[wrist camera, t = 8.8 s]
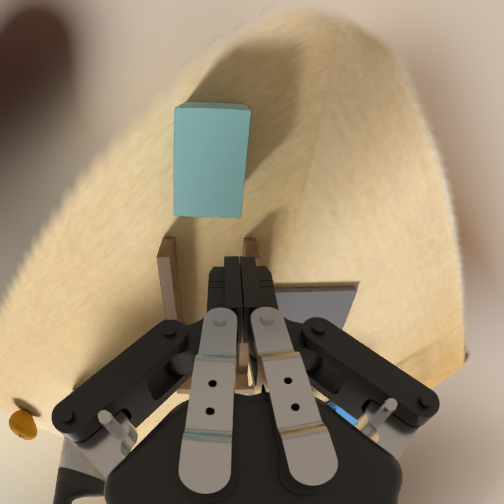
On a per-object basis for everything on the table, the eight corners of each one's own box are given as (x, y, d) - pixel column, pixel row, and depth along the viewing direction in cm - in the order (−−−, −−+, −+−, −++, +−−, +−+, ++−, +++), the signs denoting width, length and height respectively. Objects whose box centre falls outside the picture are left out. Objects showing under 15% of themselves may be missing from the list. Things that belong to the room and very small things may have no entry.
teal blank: (183, 187, 26) (174, 216, 21) (186, 101, 22) (174, 107, 17) (237, 189, 27) (240, 218, 22) (245, 103, 23) (251, 110, 18)
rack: (179, 358, 40) (177, 393, 35) (162, 237, 29) (151, 273, 24) (244, 358, 41) (248, 393, 36) (255, 238, 30) (262, 274, 25)
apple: (46, 421, 56) (40, 447, 49) (28, 418, 56) (21, 442, 49) (26, 405, 51) (18, 432, 44) (8, 402, 51) (0, 427, 44)
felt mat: (258, 348, 40) (259, 352, 39) (267, 288, 34) (268, 292, 33) (333, 343, 41) (334, 347, 40) (354, 286, 35) (356, 290, 34)
